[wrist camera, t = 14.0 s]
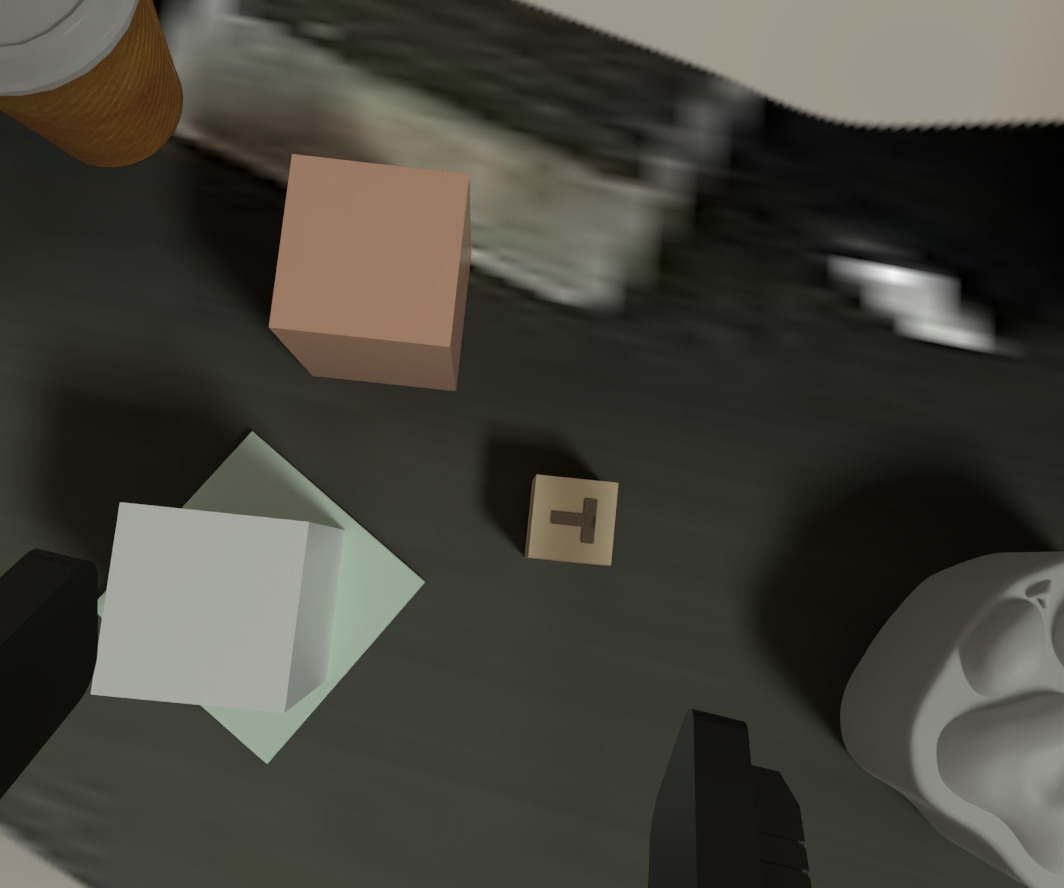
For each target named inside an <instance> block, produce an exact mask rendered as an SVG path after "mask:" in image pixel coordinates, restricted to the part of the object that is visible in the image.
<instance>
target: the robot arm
mask: <svg viewBox="0 0 1064 888" xmlns="http://www.w3.org/2000/svg"><path fill="white" fill-rule="evenodd" d="M97 653H98V575H97V569H96V567H95V565H94V564H93V563H92V562H90V561H86V560H82V559H77V558H73V557H69V556H65V555H61V554H57V553H53V552H49V551H44V550H40V549H34V550H32V551H30V552H28V553H27V554H26V555H24V556H23V557H22V558H21V559H20V560H19V561H18V562H17V563H16V564H15V565H13V566H12V567H11V568H10V569H9V570H8V571H7V572H6V573H5V574H4V575H2V576H1V577H0V799H1V798H2V796H3V795H4V794H5V793H6V792H7V790H8V789H9V788H10V787H11V785H12V784H13V783H14V782H15V780H16V779H17V778H18V777H19V775H20V774H21V773H22V772H23V770H24V769H25V768H26V767H27V765H28V764H29V763H30V762H31V761H32V759H33V758H34V757H35V756H36V754H37V753H38V752H39V751H40V749H41V748H42V747H43V746H44V744H45V743H46V742H47V741H48V739H49V738H50V737H51V736H52V734H53V733H54V732H55V731H56V729H57V728H58V727H59V726H60V725H61V723H62V722H63V721H64V720H65V718H66V717H67V716H68V715H69V713H70V712H71V711H72V710H73V708H74V707H75V706H76V705H77V703H78V702H79V701H80V699H81V698H82V697H83V695H84V693H85V692H86V690H87V688H88V686H89V683H90V681H91V679H92V676H93V673H94V670H95V666H96V661H97ZM804 842H805V839H804V832H803V825H802V819H801V812H800V806H799V804H798V802H797V801H796V799H795V797H794V796H793V794H792V792H791V791H790V789H789V787H788V786H787V784H786V782H785V781H784V779H783V777H782V776H781V774H780V772H778V771H774V770H770V769H766V768H762V767H758V766H753V765H751V758H750V747H749V736H748V728H747V724H746V723H745V722H744V721H740V720H735V719H731V718H727V717H723V716H719V715H715V714H711V713H706V712H702V711H698V710H694V709H689V710H688V711H687V713H686V715H685V717H684V720H683V723H682V726H681V729H680V731H679V734H678V737H677V740H676V743H675V746H674V749H673V752H672V755H671V758H670V761H669V763H668V766H667V769H666V772H665V775H664V778H663V781H662V784H661V787H660V790H659V793H658V796H657V800H656V804H655V808H654V813H653V819H652V825H651V833H650V847H649V879H648V888H811V881H810V877H808V872H809V867H808V860H807V853H806V848H804Z"/></svg>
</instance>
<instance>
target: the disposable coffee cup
mask: <svg viewBox="0 0 1064 888" xmlns="http://www.w3.org/2000/svg"><path fill="white" fill-rule="evenodd" d="M182 106H183V93H182V87H181V82H180V80H179V77H178V74H177V72H176V69H175V66H174V64H173V60H172V57H171V55H170V51H169V49H168V46H167V43H166V40H165V36H164V34H163V31H162V28H161V25H160V23H159V20H158V17H157V14H156V10H155V8H154V5H153V2H152V0H0V110H1V111H2V112H4V113H6V114H7V115H9V116H10V117H12V118H13V119H15V120H16V121H18V122H20V123H21V124H23V125H24V126H26V127H28V128H29V129H31V130H32V131H34V132H35V133H37V134H38V135H40V136H42V137H43V138H45V139H46V140H48V141H49V142H51V143H53V144H54V145H56V146H57V147H59V148H60V149H62V150H63V151H65V152H66V153H68V154H69V155H71V156H72V157H74V158H76V159H78V160H80V161H82V162H84V163H87V164H91V165H95V166H100V167H120V166H127V165H131V164H133V163H136V162H139V161H141V160H144V159H146V158H147V157H149V156H151V155H153V154H154V153H155V152H156V151H158V150H159V149H160V148H161V147H162V146H163V145H164V144H165V143H166V142H167V141H168V139H169V138H170V137H171V135H172V134H173V133H174V131H175V129H176V127H177V125H178V123H179V120H180V116H181V112H182Z"/></svg>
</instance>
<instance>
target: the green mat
mask: <svg viewBox="0 0 1064 888" xmlns="http://www.w3.org/2000/svg"><path fill="white" fill-rule="evenodd" d="M181 509H191V510H200V511H210V512H220V513H229V514H239V515H249V516H258V517H268V518H277V519H287V520H297V521H306V522H312V523H316V524H321V525H325V526H329V527H334V528H338V529H342V530H345V537H344V545H343V553H342V561H341V569H340V577H339V585H338V593H337V601H336V609H335V617H334V625H333V633H332V642H331V650H330V658H329V666H328V674H327V680H326V681H325V682H324V683H323V684H321V685H320V686H319V687H317V688H316V689H315V690H314V691H312V692H311V693H310V694H308V695H307V696H306V697H305V698H303V699H302V700H301V701H299V702H298V703H297V704H296V705H294V706H293V707H292V708H291V709H289V710H288V711H287V712H285V713H278V712H268V711H258V710H247V709H237V708H226V707H216V706H206V705H201V706H202V707H203V708H204V709H205V710H206V711H208V712H209V713H210V714H211V715H212V716H213V717H214V718H216V719H217V720H218V721H219V722H220V723H221V724H222V725H223V726H225V727H226V728H227V729H228V730H229V731H230V732H231V733H232V734H234V735H235V736H236V737H237V738H238V739H239V740H240V741H241V742H243V743H244V744H245V745H246V746H247V747H248V748H249V749H250V750H252V751H253V752H254V753H255V754H256V755H257V756H258V757H259V758H261V759H262V760H263V761H264V762H265V763H266V764H268V763H269V762H270V760H271V759H272V758H273V757H274V756H275V755H276V754H277V752H278V751H279V750H280V749H281V748H282V747H283V745H284V744H285V743H286V742H287V741H288V740H289V739H290V737H291V736H292V735H293V734H294V733H295V732H296V730H297V729H298V728H299V727H300V726H301V725H302V724H303V722H304V721H305V720H306V719H307V718H308V717H309V715H310V714H311V713H312V712H313V711H314V710H315V709H316V707H317V706H318V705H319V704H320V703H321V702H322V700H323V699H324V698H325V697H326V696H327V695H328V694H329V692H330V691H331V690H332V689H333V688H334V687H335V685H336V684H337V683H338V682H339V681H340V680H341V679H342V677H343V676H344V675H345V674H346V673H347V672H348V671H349V669H350V668H351V667H352V666H353V665H354V664H355V662H356V661H357V660H358V659H359V658H360V657H361V656H362V654H363V653H364V652H365V651H366V650H367V649H368V647H369V646H370V645H371V644H372V643H373V642H374V641H375V639H376V638H377V637H378V636H379V635H380V634H381V632H382V631H383V630H384V629H385V628H386V627H387V626H388V624H389V623H390V622H391V621H392V620H393V619H394V617H395V616H396V615H397V614H398V613H399V612H400V611H401V609H402V608H403V607H404V606H405V605H406V604H407V602H408V601H409V600H410V599H411V598H412V597H413V596H414V594H415V593H416V592H417V591H418V590H419V589H420V588H421V586H422V585H423V584H424V583H425V581H424V580H423V579H422V578H420V577H419V576H418V575H417V574H416V573H415V572H414V571H412V570H411V569H410V568H409V567H408V566H407V565H406V564H404V563H403V562H402V561H401V560H400V559H399V558H398V557H396V556H395V555H394V554H393V553H392V552H391V551H389V550H388V549H387V548H386V547H385V546H384V545H383V544H381V543H380V542H379V541H378V540H377V539H376V538H375V537H373V536H372V535H371V534H370V533H369V532H368V531H367V530H365V529H364V528H363V527H362V526H361V525H360V524H359V523H357V522H356V521H355V520H354V519H353V518H352V517H351V516H349V515H348V514H347V513H346V512H345V511H344V510H343V509H341V508H340V507H339V506H338V505H337V504H336V503H334V502H333V501H332V500H331V499H330V498H329V497H328V496H326V495H325V494H324V493H323V492H322V491H321V490H320V489H318V488H317V487H316V486H315V485H314V484H313V483H312V482H310V481H309V480H308V479H307V478H306V477H305V476H304V475H302V474H301V473H300V472H299V471H298V470H297V469H296V468H294V467H293V466H292V465H291V464H290V463H289V462H288V461H286V460H285V459H284V458H283V457H282V456H281V455H279V454H278V453H277V452H276V451H275V450H274V449H273V448H271V447H270V446H269V445H268V444H267V443H266V442H265V441H263V440H262V439H261V438H260V437H259V436H258V435H257V434H255V433H254V432H253V431H252V432H251V433H250V434H249V435H248V436H247V437H246V438H245V440H244V441H243V442H242V443H241V444H240V445H239V446H238V447H237V448H236V449H235V450H234V452H233V453H232V454H231V455H230V456H229V457H228V458H227V459H226V460H225V461H224V462H223V464H222V465H221V466H220V467H219V468H218V469H217V470H216V471H215V472H214V473H213V474H212V476H211V477H210V478H209V479H208V480H207V481H206V482H205V483H204V484H203V485H202V486H201V488H200V489H199V490H198V491H197V492H196V493H195V494H194V495H193V496H192V497H191V498H190V500H189V501H188V502H187V503H186V504H185V505H184V506H183V507H182V508H181ZM105 596H106V591H105V592H104V593H103V595H102V596H101V597H100V598H99V599H98V615H100V616H101V617H102V616H103V609H104V603H105Z"/></svg>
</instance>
